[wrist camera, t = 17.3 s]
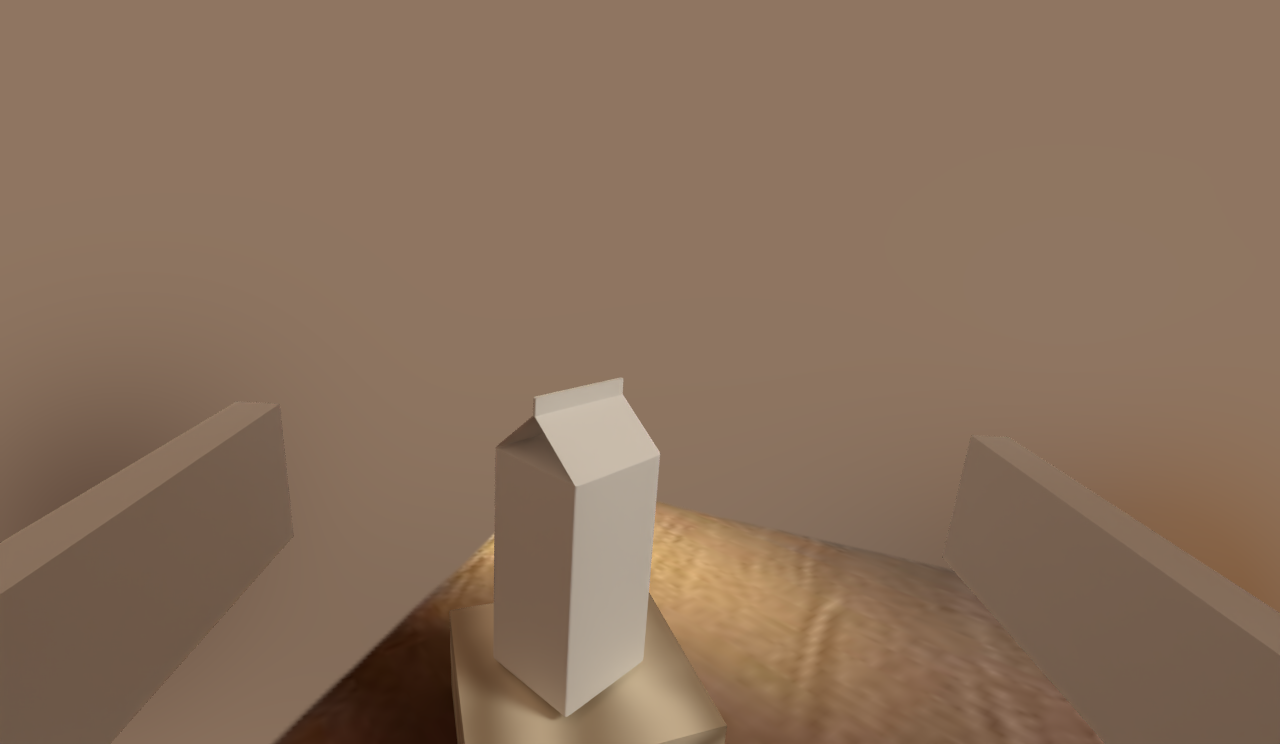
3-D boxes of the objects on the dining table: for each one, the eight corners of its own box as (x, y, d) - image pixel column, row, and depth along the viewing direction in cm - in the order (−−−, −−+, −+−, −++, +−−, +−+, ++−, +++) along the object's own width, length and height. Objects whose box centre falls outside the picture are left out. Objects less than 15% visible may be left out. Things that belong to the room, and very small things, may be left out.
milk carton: (644, 662, 42) (666, 390, 37) (565, 721, 37) (579, 414, 32) (572, 614, 47) (583, 365, 42) (492, 660, 41) (494, 382, 37)
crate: (635, 649, 53) (641, 578, 51) (714, 812, 40) (726, 725, 38) (451, 687, 48) (449, 610, 46) (471, 889, 35) (470, 793, 33)
